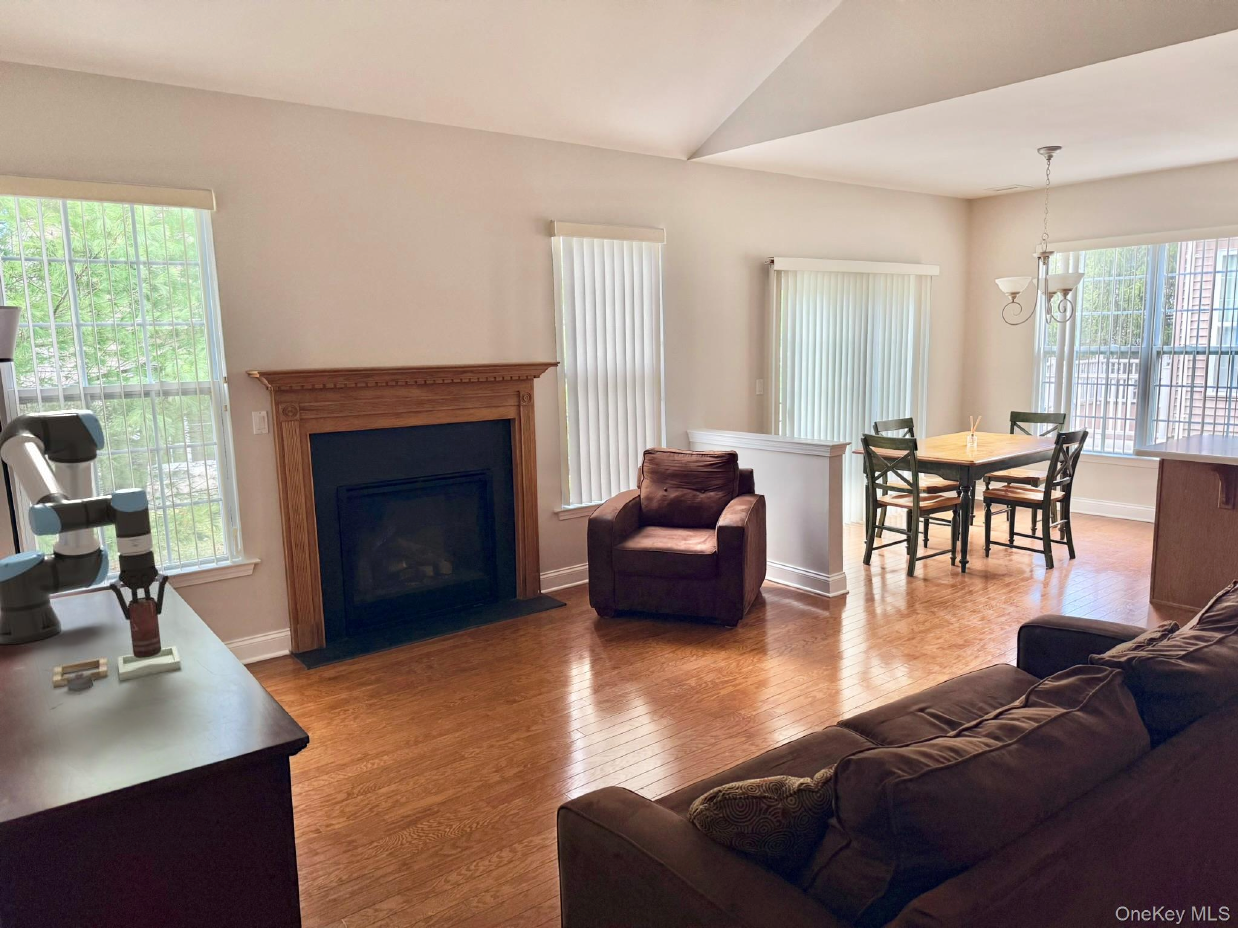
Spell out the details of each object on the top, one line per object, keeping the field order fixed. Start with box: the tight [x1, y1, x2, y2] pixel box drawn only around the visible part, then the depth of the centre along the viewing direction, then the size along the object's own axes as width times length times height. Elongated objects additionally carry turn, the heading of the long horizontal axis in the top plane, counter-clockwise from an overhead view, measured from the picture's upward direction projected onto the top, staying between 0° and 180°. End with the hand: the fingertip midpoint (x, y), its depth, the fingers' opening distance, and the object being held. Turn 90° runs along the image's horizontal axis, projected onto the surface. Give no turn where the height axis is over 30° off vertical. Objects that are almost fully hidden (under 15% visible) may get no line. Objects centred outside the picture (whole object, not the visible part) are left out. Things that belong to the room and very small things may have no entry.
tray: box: [117, 645, 182, 681], centre depth 210 cm, size 13×13×2 cm
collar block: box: [52, 656, 109, 692], centre depth 203 cm, size 18×11×3 cm, turn 32°
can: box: [127, 596, 162, 658], centre depth 208 cm, size 6×6×14 cm
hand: (146, 643), depth 209 cm, fingers closed
